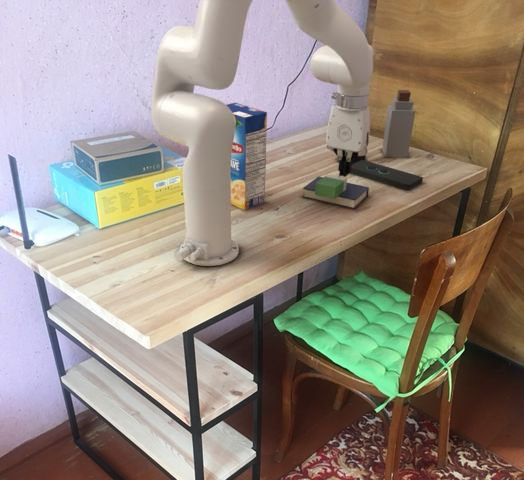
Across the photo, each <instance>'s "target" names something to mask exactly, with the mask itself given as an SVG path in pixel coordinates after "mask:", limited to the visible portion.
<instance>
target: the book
mask: <svg viewBox="0 0 524 480" xmlns="http://www.w3.org/2000/svg"><path fill="white" fill-rule="evenodd" d="M322 178H323V176H320V175H319V176H316V177H315V178H314V179H313V180H312V181H310V182H309V183H308V184H305V186H304V187H302V189H303V196H302V198H304V199H308V200H312V201H315V202H321V203H324V204H330V205H333V206H338V207H342V208H347V209H350V210H355V209H357V208H358V207H359V206H360V205H361V204H362V203H363V202H364V201H365V200H366V199H367V198H368V197H369V191H370V187H369V186H366V185H365V186H364V185H360V184H355V183H351V182H347V183H346V190H345V191H344V192H342V193H341V194H340V195H339V196H338V197H337V198H335V199H332V198H327V197H323V196H319V195H315V187H316V183H317V182H318V181H319V180H321V179H322Z"/></svg>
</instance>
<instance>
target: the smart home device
mask: <svg viewBox="0 0 524 480" xmlns="http://www.w3.org/2000/svg"><path fill="white" fill-rule="evenodd" d="M349 174H353V175H355V176H359V177H362V178H365V179H369V180H371V181H375V182H379V183H382V184H383V185H388V186H391V187H394V188H397V189H401V190H403V191H410V190H412V189H414V188H416V187H417V186H419V185H422V184H423V179H424V177H423V176H421V175H417V174H413V173H410V172H407V171H403V170H400V169H397V168H393V167H390V166H386V165H382V164H379V163H376V162H372V161H368V160H366V159H365V160H361V161H358V162H356V163H354V164H352V168H351V172H350V173H349Z"/></svg>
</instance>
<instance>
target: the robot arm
mask: <svg viewBox="0 0 524 480" xmlns="http://www.w3.org/2000/svg"><path fill="white" fill-rule="evenodd" d="M252 2H253V0H199V2H198V8H197V12H196V17H195V22H194V26H192V25H185V24H181V25H177V26H174V27H171V28H169V30H168V31H166V33H165V34H164V35H163V37H162V38H161V41H160V43H159V46H158V49H157V53H156V59H155V67H154V68H155V69H154V77H153V84H152V85H153V86H152V94H151V104H150V105H151V106H150V115H151V122H152V125H153V128H154V130H155V131H156V133H157V134H158V135H160V137H162V138H164V139H167V140H169V141H172V142H175V143H177V144H180V145H183V146H185V147H187V148H188V153H187V155H186V157H185V160H184V163H183V164H182V165H183V166H182V173H181V178H182V190H183V207H184V223H185V238H184V241H183V242H182V243H181V244H180V246H179V250H178V251H176V252H175V253H174V257H175V260H176V261H178V262H182V261H183V260H184V261H186V262H187V263H189V264H192V265H195V266H202V267H214V266H221V265H225V264H228V263H230V262H232V261H233V260H235V259H236V258H237V257H238V256H239V251H240V247H239V245H238V243H237V242H236V241H234V240H233V238H232V204H231V176H230V170H231V152H232V146H233V140H234V135H235V118H234V115H233V113H232V111H231V110H230V109H229V107H228V106H227V104H226V103H224V102H223V101H220V100H219V99H216V98H214V97H211V96H207V95H203V94H200V93H194V92H195V91H194V90H195V86H197V87H201V88H204V89H209V90H215V91H216V90H217V91H221V90H226V89H228V88H229V87H230V86H231V85H232V84H233V82H234V81H235V77H236V75H237V70H238V66H239V61H240V54H241V49H242V44H243V37H244V32H245V31H244V30H245V26H246V21H247V16H248V12H249V10H250V7H251V4H252ZM285 3H286V5H287V7H288V9H289V10H290V14H291V16H292V18H293V20H294V22H295V25H296V26H297V28H298V29H299V30H301V32H303V33H305V34H306V35H307V36H309V37H311V38H312V39H314V40H316V41H317V42H319V43H321V44H323V46H321V47H319V48H318V49H316V50H315V51H314V53H313V54H312V56H311V59H310V62H309V63H310V64H309V68H310V71H311V74H312V75H313V77H314V78H315V79H317V80H318V81H320V82H323V83H326V84H327V83H328V84H332V85H337V89H336V92H332V93H331V99H333V100H335V103H334V104H332V106H331V110H330V113H329V118H328V121H327V122H328V123H327V128H326V134H325V135H326V136H325V144H326V149H327V150H330V151H332V152H333V153H334V154H335V155H336V158H337V161H338V160H339V161H338V166H337V167H338V168H337V170H338V172H339V173H338V177H343V178H347V176H348V175H349V174H351V173H350V172H351V168H352V159H354V158H355V157H356V156H365V155H366V156H367V155H368V146H369V142H370V135H371V134H370V133H371V112H370V107H369V106H368V102H369V95H370V94H369V93H370V87H371V86H370V85H371V79H372V76H373V73H374V48H373V46H372V45H370V44H369V41H368V39H367V37H366V35H365V33H364V32H363V30H362V29H361V28H360V26H359V25H358V24H357V23H356V22H355V21H354V19H352V18H351V17H350V16H349V15H348V13H346V12H345V10H343V9H342V7H340V6H339V5H338V4H337V3H336V2H335V0H285ZM346 151H348V154H347V157H346Z"/></svg>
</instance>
